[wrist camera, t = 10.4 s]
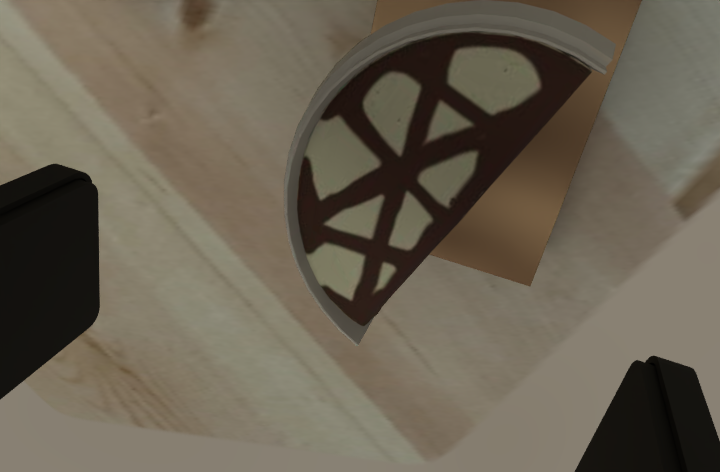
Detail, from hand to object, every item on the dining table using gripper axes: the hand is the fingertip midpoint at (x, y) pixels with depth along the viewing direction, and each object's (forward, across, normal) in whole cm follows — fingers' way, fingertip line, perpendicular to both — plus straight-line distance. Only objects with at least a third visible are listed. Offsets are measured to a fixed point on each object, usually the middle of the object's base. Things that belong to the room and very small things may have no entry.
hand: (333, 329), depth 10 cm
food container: (+18, +1, 0) cm, 18 cm away
